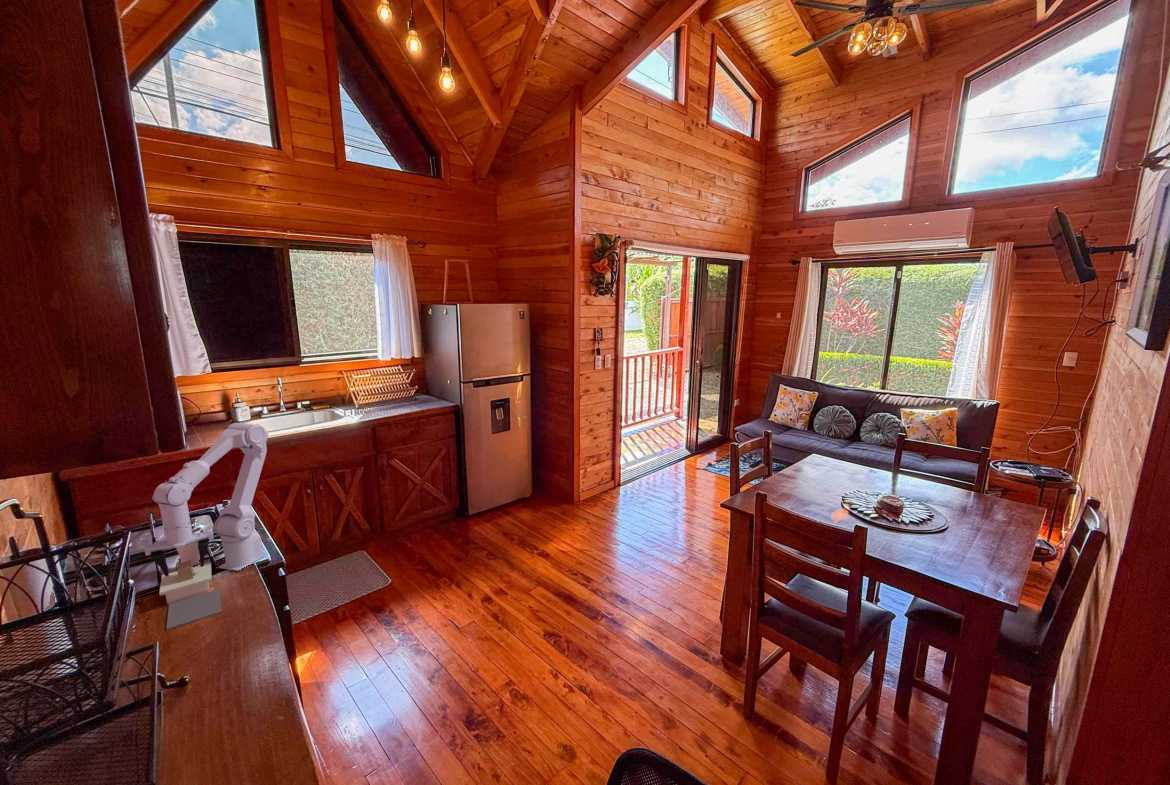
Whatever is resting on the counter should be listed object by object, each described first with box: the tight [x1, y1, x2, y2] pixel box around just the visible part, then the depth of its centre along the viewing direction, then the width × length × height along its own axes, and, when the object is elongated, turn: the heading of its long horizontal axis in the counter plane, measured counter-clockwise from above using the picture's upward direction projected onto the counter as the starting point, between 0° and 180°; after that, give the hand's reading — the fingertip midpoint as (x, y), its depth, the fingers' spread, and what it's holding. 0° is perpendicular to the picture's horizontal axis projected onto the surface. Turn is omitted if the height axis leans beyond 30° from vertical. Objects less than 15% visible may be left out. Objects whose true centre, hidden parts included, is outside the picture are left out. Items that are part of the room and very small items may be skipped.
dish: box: [164, 582, 210, 605], centre depth 136 cm, size 9×9×4 cm
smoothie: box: [176, 532, 200, 566], centre depth 148 cm, size 6×6×14 cm
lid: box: [159, 560, 213, 597], centre depth 135 cm, size 11×11×4 cm
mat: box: [166, 588, 222, 631], centre depth 128 cm, size 13×11×1 cm
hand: (185, 569), depth 135 cm, fingers open, 7 cm apart
